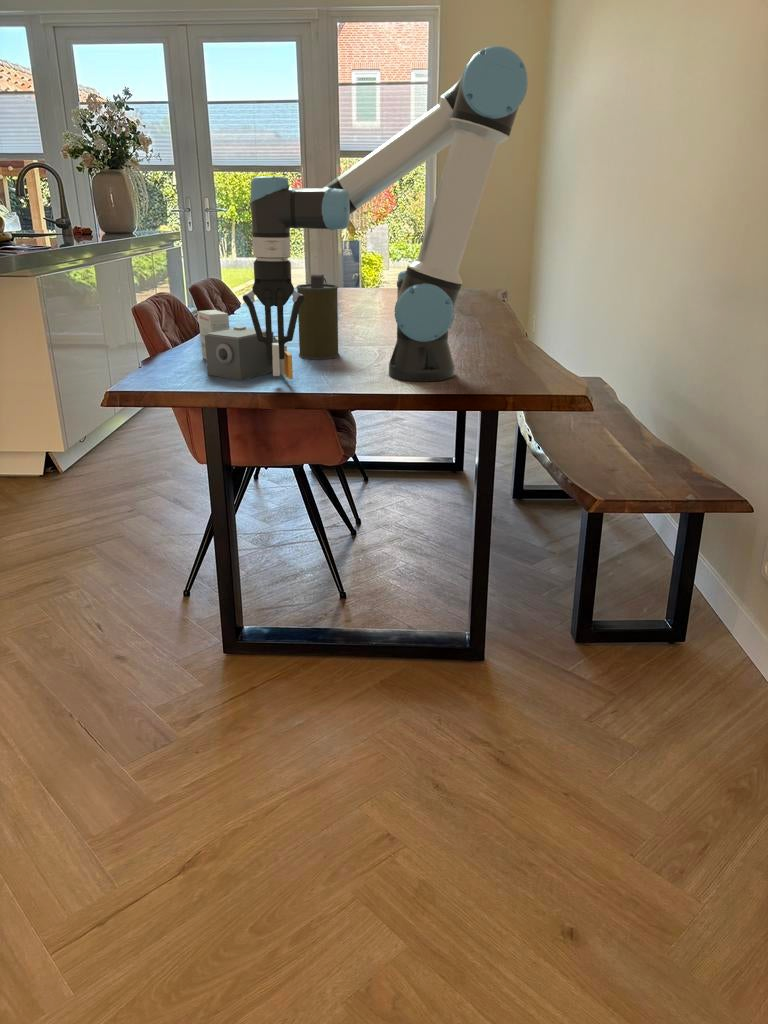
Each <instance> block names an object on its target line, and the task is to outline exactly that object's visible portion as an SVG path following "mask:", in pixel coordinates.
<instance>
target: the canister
mask: <svg viewBox="0 0 768 1024" xmlns="http://www.w3.org/2000/svg"><path fill="white" fill-rule="evenodd" d="M338 289H339V286H338V285H337V284H331V283H328V282H327V280H326V278H325V277H324V274H311V276H310V283H306V284H299V285H296V290H297V291H296V292H298V293H299V294H302V295H303V296H304V301H303V302H302V304H301V305H300V307H299V312H298V317H297V322H298V344H299V353H298V357H300V358H301V359H303V360H304V359H305V360H314V361H315V360H318V361H319V360H321V361H322V360H330V359H331V360H332V359H337V358H338V357H339V356H340V353H339V322H338V321H339V320H338V319H339V318H338V317H339V314H338V313H339V311H338V307H339V306H338V304H339V303H338Z"/></svg>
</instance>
